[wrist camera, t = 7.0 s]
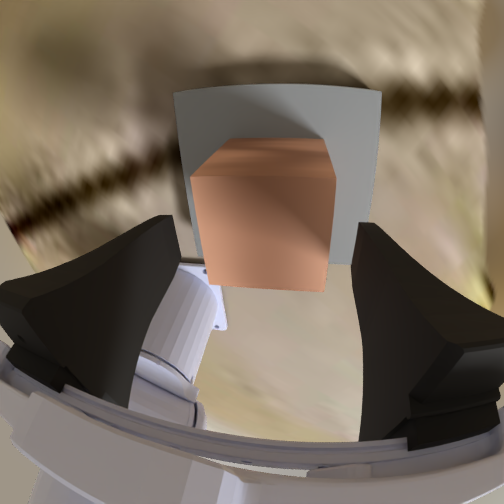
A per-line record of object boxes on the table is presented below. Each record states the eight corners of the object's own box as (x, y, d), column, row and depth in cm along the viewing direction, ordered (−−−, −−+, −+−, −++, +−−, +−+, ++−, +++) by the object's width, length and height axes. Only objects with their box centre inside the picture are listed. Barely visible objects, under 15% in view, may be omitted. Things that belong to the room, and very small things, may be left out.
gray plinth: (208, 236, 21) (197, 256, 19) (189, 89, 15) (172, 92, 13) (354, 244, 20) (359, 265, 18) (370, 89, 13) (381, 91, 11)
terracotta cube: (236, 218, 17) (209, 284, 12) (229, 138, 14) (190, 176, 10) (319, 221, 16) (323, 291, 12) (323, 139, 13) (336, 178, 9)
